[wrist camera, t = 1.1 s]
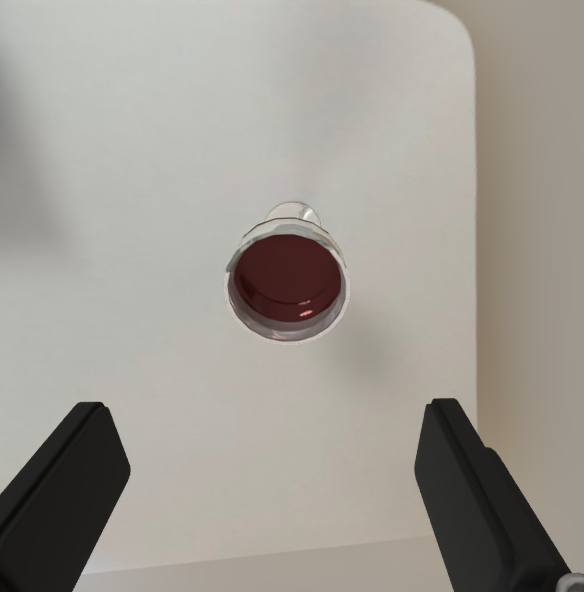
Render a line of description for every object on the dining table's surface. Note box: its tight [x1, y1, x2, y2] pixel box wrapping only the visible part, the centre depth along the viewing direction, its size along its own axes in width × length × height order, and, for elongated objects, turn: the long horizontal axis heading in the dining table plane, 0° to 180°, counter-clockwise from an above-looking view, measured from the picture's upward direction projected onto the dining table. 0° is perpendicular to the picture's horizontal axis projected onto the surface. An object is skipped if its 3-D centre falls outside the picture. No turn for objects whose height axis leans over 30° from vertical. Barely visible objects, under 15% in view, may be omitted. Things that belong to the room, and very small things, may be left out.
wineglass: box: [223, 202, 350, 345], centre depth 23 cm, size 7×7×12 cm
